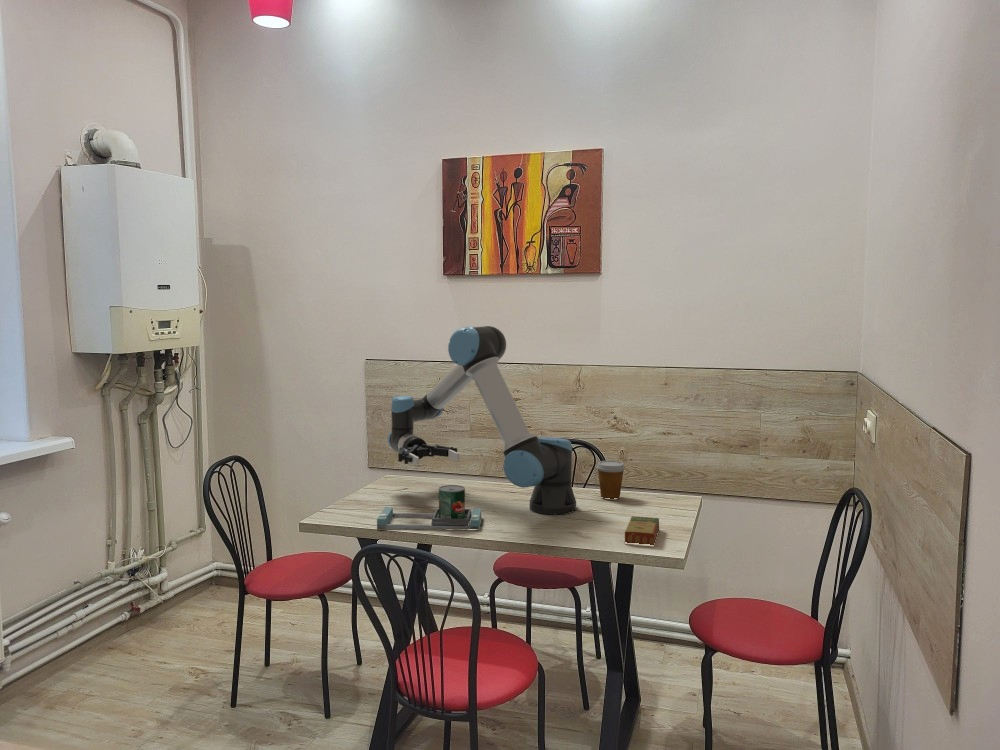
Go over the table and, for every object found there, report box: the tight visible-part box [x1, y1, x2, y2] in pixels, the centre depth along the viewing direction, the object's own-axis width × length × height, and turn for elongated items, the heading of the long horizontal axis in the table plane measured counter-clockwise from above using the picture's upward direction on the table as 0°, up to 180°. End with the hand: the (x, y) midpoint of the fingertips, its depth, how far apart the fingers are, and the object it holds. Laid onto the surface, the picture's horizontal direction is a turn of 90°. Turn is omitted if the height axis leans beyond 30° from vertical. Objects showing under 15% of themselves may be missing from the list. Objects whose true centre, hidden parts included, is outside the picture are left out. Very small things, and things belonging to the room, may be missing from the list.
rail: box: [376, 512, 480, 530], centre depth 231 cm, size 30×13×1 cm, turn 88°
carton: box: [624, 515, 660, 546], centre depth 219 cm, size 8×16×4 cm, turn 164°
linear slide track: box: [376, 506, 482, 529], centre depth 231 cm, size 30×13×3 cm, turn 88°
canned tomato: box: [438, 484, 466, 519], centre depth 230 cm, size 8×8×11 cm
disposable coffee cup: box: [596, 460, 626, 499], centre depth 260 cm, size 10×10×12 cm
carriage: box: [430, 508, 472, 525], centre depth 231 cm, size 11×13×2 cm
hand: (438, 459), depth 238 cm, fingers open, 13 cm apart
